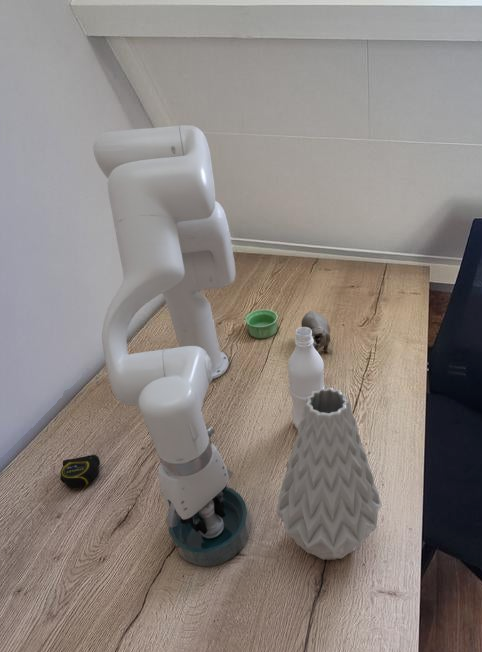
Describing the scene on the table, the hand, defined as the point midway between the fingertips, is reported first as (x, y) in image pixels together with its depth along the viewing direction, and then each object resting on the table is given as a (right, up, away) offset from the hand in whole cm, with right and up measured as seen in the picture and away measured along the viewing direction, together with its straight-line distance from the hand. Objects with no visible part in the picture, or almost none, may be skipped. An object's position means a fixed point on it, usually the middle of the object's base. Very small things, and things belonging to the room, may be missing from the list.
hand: (209, 520), depth 79 cm
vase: (+21, -3, +1) cm, 21 cm away
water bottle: (+18, +15, +21) cm, 31 cm away
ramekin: (+5, +40, +49) cm, 64 cm away
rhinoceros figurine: (+19, +34, +41) cm, 56 cm away
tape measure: (-29, +5, +14) cm, 32 cm away
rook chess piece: (0, -2, +2) cm, 3 cm away
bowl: (0, -3, +3) cm, 4 cm away
